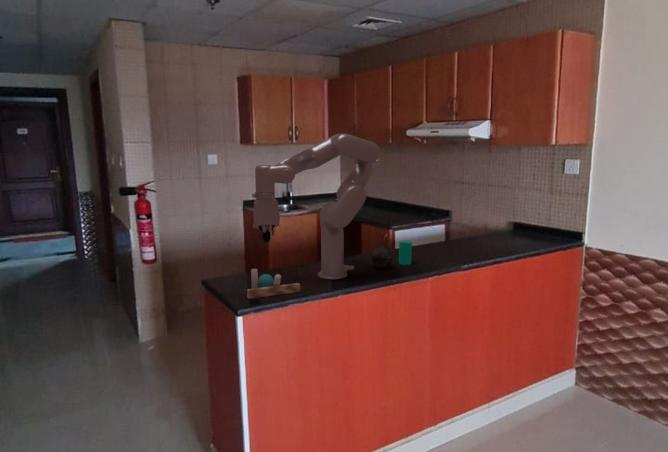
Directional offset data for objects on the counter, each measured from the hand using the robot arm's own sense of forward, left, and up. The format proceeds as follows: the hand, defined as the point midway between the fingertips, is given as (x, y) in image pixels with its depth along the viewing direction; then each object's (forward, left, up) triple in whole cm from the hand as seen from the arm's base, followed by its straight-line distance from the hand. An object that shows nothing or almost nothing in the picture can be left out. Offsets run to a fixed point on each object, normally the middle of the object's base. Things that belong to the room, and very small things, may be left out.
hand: (266, 241), depth 188 cm
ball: (+3, +9, -14) cm, 17 cm away
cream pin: (0, +12, -16) cm, 20 cm away
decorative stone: (-54, -1, -17) cm, 57 cm away
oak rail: (+2, +17, -17) cm, 24 cm away
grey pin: (+8, +11, -17) cm, 22 cm away
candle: (-68, -4, -17) cm, 70 cm away
